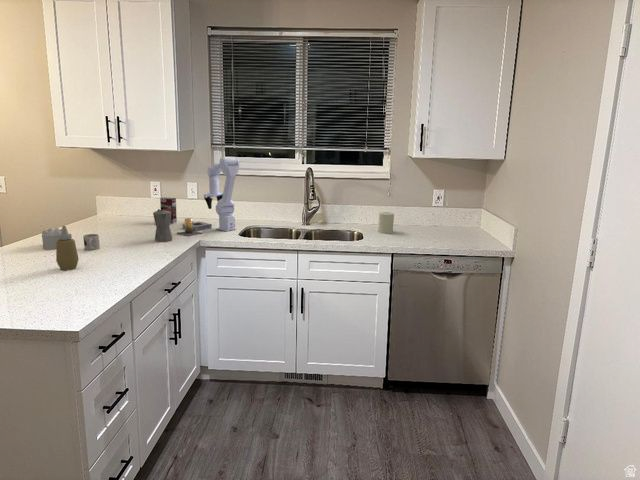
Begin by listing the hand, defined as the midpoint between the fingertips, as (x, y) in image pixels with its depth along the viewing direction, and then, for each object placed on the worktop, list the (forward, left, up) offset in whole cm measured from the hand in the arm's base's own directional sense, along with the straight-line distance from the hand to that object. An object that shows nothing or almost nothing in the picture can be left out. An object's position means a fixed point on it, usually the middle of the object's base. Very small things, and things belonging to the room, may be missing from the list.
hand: (214, 208), depth 281 cm
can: (-90, -58, -11) cm, 107 cm away
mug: (-8, +81, -11) cm, 82 cm away
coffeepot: (-14, +46, -11) cm, 49 cm away
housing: (-2, +15, -10) cm, 18 cm away
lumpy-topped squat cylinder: (+10, +90, -11) cm, 91 cm away
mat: (-11, +27, -10) cm, 31 cm away
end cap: (-10, +27, -10) cm, 30 cm away
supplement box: (+24, +17, -11) cm, 32 cm away
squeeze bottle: (-32, +102, -11) cm, 107 cm away
